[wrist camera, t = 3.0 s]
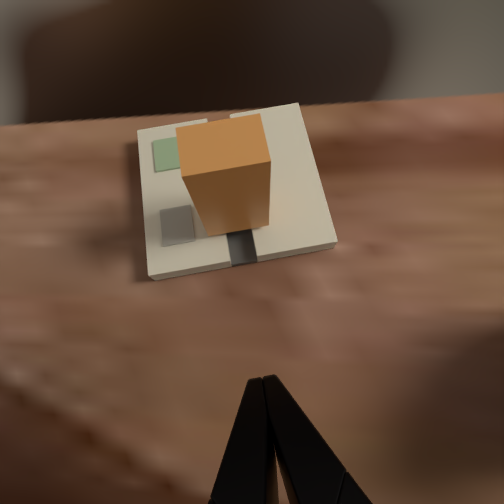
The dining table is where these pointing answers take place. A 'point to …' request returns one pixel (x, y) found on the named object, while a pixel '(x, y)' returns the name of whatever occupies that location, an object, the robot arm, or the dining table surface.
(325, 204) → the switch panel
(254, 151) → the switch knob
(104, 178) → the dining table surface
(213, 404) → the dining table surface
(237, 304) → the dining table surface
